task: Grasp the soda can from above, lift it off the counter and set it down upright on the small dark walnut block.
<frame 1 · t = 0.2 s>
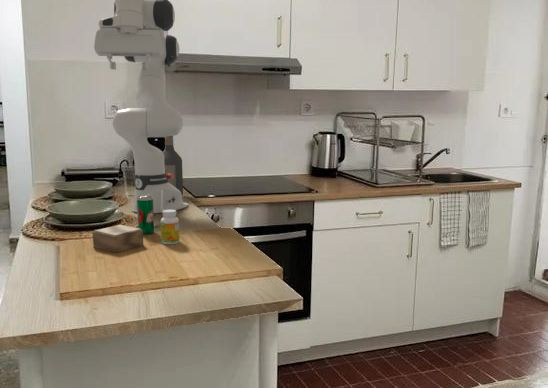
hand: (128, 68, 169), 51 cm above the worktop, tool tilted 20°, fingers open, 8 cm apart
soda can: (146, 233, 179), on the worktop
walnut block: (118, 246, 162), on the worktop
supplement bottle: (170, 243, 167), on the worktop
liquor: (171, 196, 244), on the worktop
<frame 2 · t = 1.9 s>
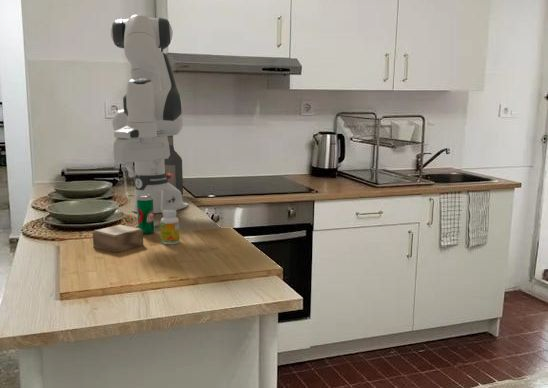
hand: (143, 175, 175), 19 cm above the worktop, tool pointing down, fingers open, 8 cm apart
nothing on the worktop moved.
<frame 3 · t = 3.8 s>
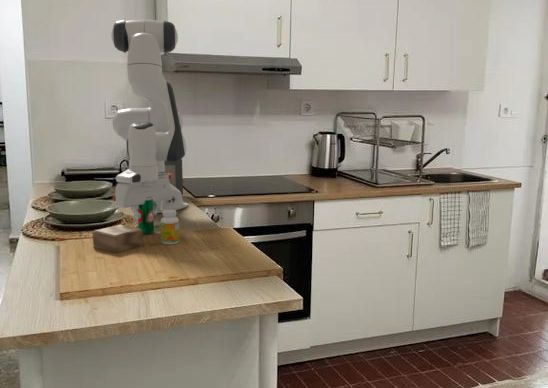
hand: (145, 217, 178), 5 cm above the worktop, tool pointing down, fingers closed on soda can, 5 cm apart
soda can: (146, 233, 179), on the worktop, touching gripper
everything else where it was.
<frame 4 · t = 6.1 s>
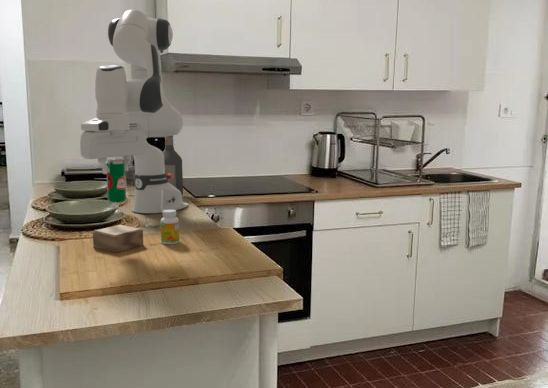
hand: (115, 172, 159), 22 cm above the worktop, tool pointing down, fingers closed on soda can, 5 cm apart
soda can: (116, 202, 160), point 13 cm above the worktop, touching gripper
everything else where it was.
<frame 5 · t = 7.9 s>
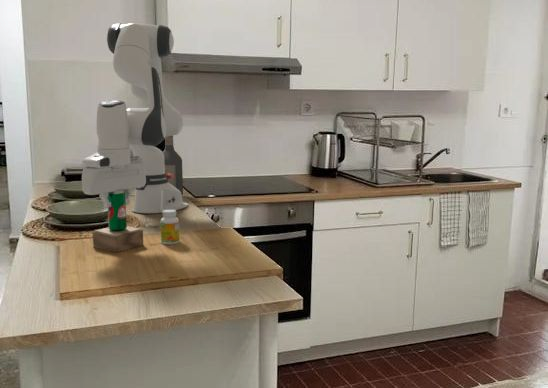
hand: (116, 206, 160), 12 cm above the worktop, tool pointing down, fingers closed on soda can, 5 cm apart
soda can: (117, 230, 161), point 5 cm above the worktop, touching gripper, walnut block
everything else where it was.
when the fingers open (12 cm above the worktop, at t = 8.3 s): soda can stays where it is, resting on walnut block.
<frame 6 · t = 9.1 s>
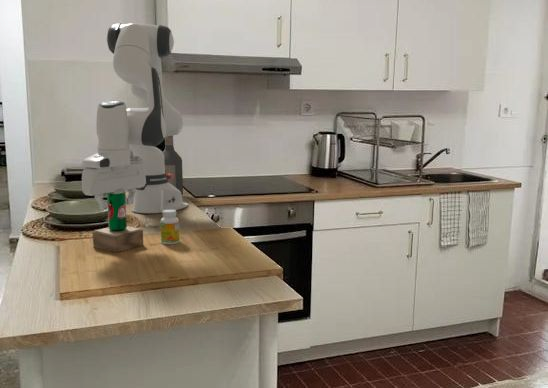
hand: (116, 206, 160), 12 cm above the worktop, tool pointing down, fingers open, 8 cm apart
soda can: (117, 230, 161), point 5 cm above the worktop, touching walnut block
everything else where it was.
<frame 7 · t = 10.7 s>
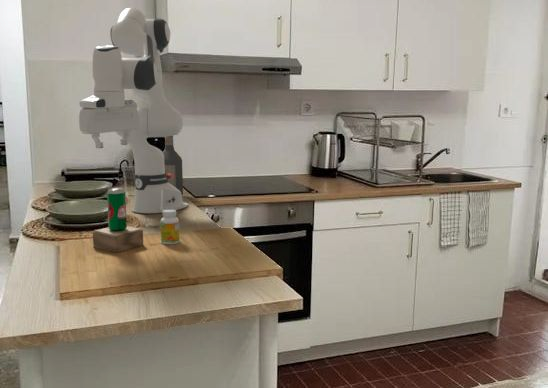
hand: (112, 146, 171), 28 cm above the worktop, tool pointing down, fingers open, 8 cm apart
nothing on the worktop moved.
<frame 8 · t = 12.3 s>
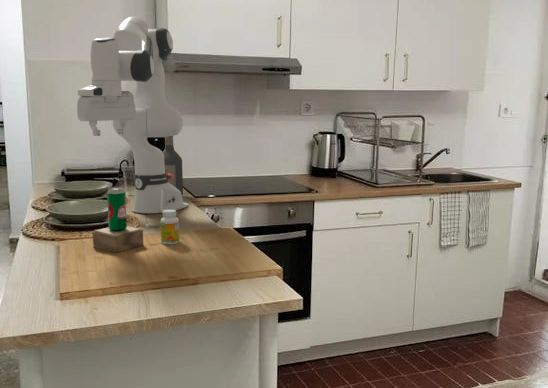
hand: (109, 135, 176), 31 cm above the worktop, tool pointing down, fingers open, 8 cm apart
nothing on the worktop moved.
at the end: soda can inside the target area on the walnut block (0.1 cm from its centre), point 4.8 cm above the walnut block's base; soda can tilted 0°; the gripper is holding nothing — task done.
